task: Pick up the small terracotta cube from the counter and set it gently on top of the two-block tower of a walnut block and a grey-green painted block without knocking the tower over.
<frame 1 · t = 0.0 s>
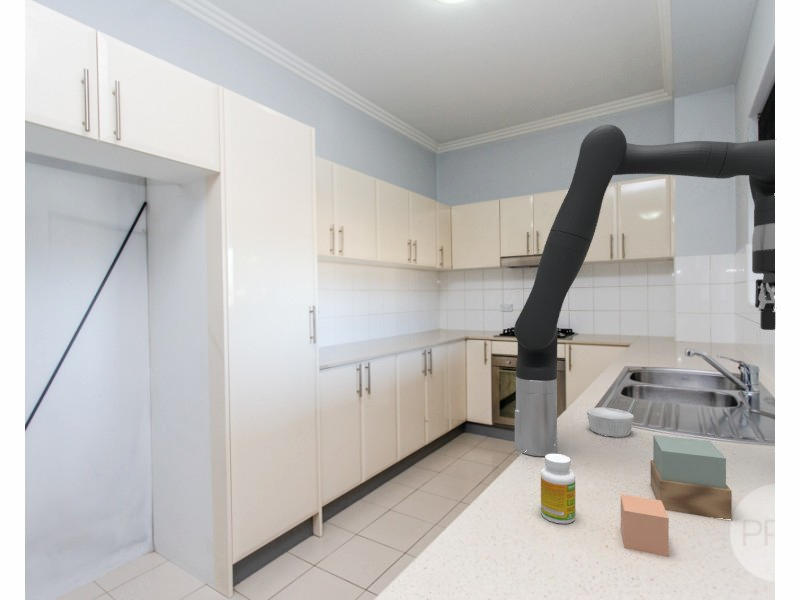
hand: (777, 331, 82), 29 cm above the worktop, tool pointing down, fingers open, 8 cm apart
ramekin: (609, 433, 113), on the worktop
terracotta cube: (643, 542, 63), on the worktop
tower base: (687, 502, 75), on the worktop, touching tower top
supplement bottle: (557, 517, 70), on the worktop
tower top: (686, 473, 75), point 5 cm above the worktop, touching tower base
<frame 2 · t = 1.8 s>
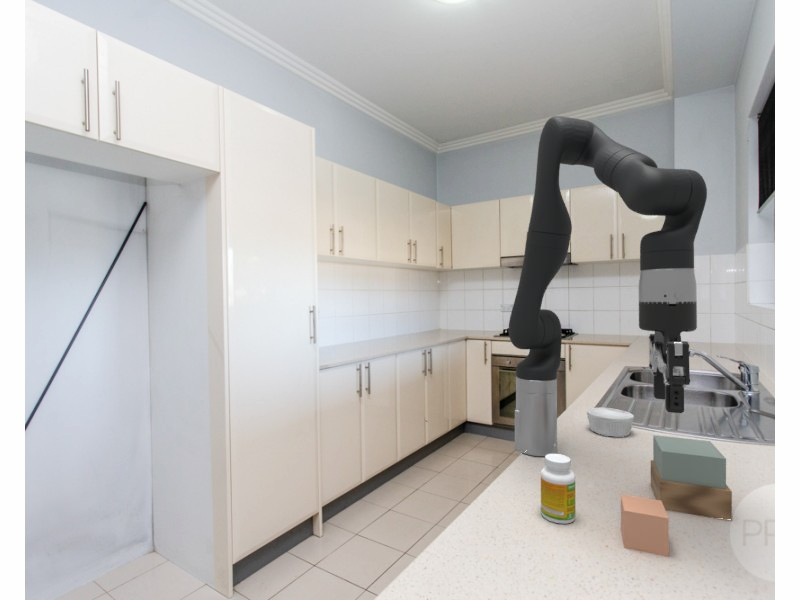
hand: (667, 405, 65), 20 cm above the worktop, tool pointing down, fingers open, 8 cm apart
nothing on the worktop moved.
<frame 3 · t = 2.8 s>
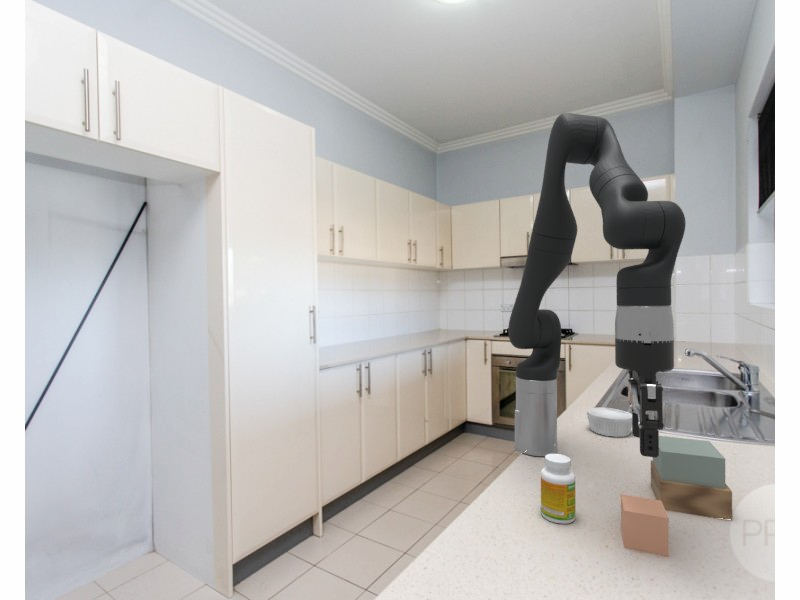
hand: (644, 445, 62), 14 cm above the worktop, tool pointing down, fingers open, 8 cm apart
nothing on the worktop moved.
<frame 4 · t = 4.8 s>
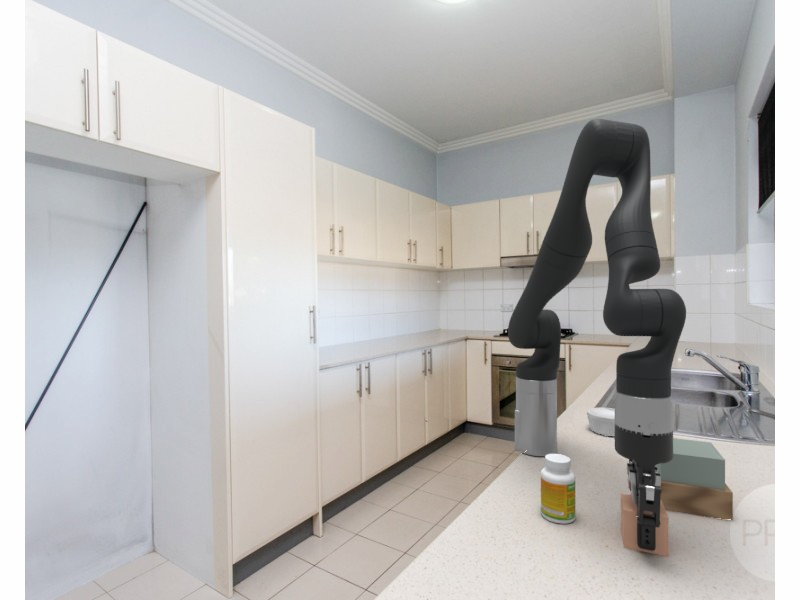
hand: (643, 536, 63), 1 cm above the worktop, tool pointing down, fingers closed on terracotta cube, 5 cm apart
terracotta cube: (643, 541, 63), on the worktop, touching gripper
everything else where it was.
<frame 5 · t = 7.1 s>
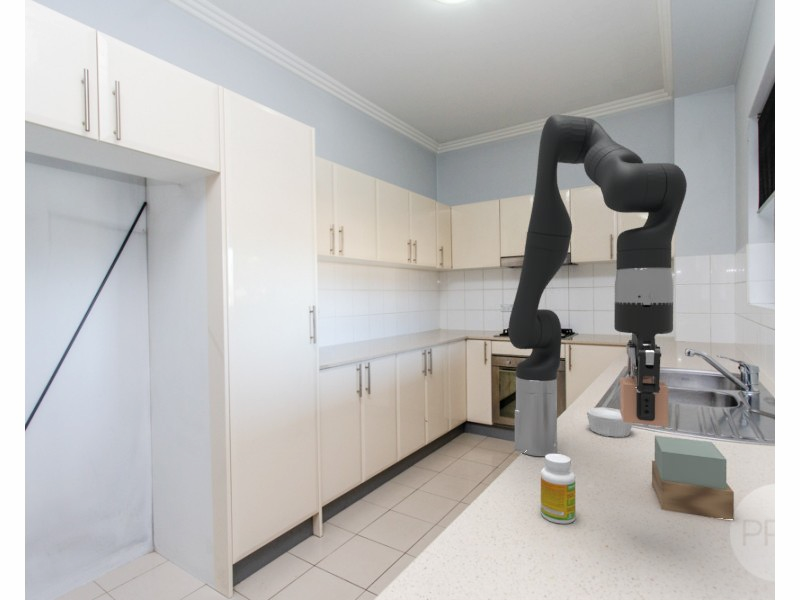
hand: (642, 413, 62), 19 cm above the worktop, tool pointing down, fingers closed on terracotta cube, 5 cm apart
terracotta cube: (642, 418, 62), point 18 cm above the worktop, touching gripper
everything else where it was.
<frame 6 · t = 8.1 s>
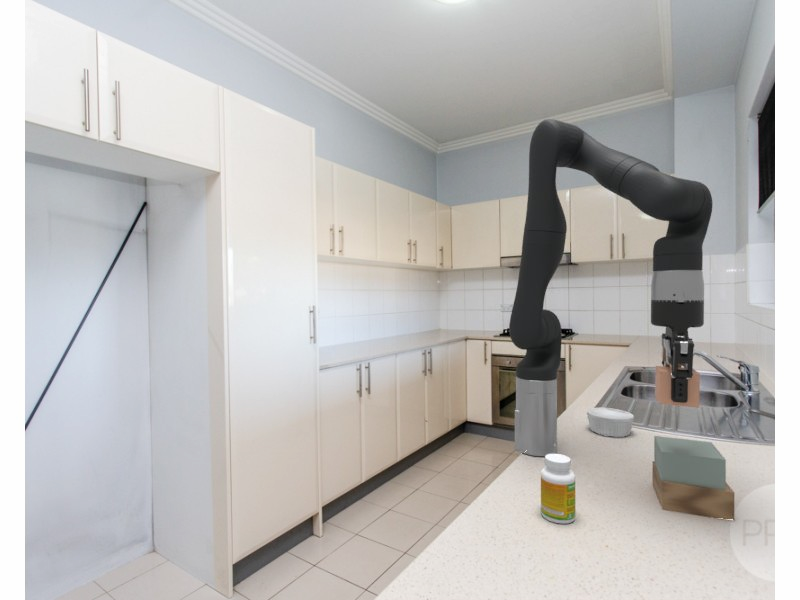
hand: (675, 397, 72), 19 cm above the worktop, tool pointing down, fingers closed on terracotta cube, 5 cm apart
terracotta cube: (676, 401, 72), point 18 cm above the worktop, touching gripper
everything else where it was.
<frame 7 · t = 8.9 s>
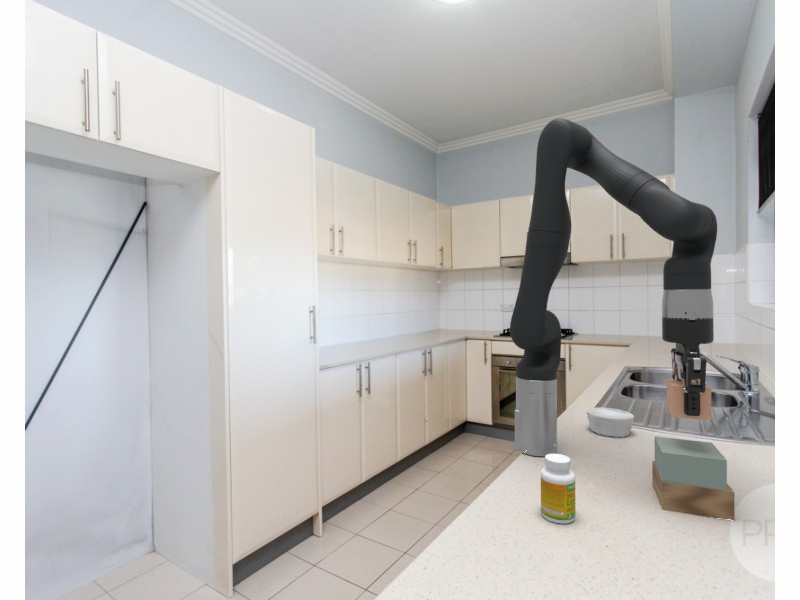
hand: (687, 410, 75), 16 cm above the worktop, tool pointing down, fingers closed on terracotta cube, 5 cm apart
terracotta cube: (688, 414, 75), point 15 cm above the worktop, touching gripper
everything else where it was.
when the fingers open (12 cm above the worktop, at t = 11.2 s): terracotta cube drops 1 cm, point 10 cm above the worktop.
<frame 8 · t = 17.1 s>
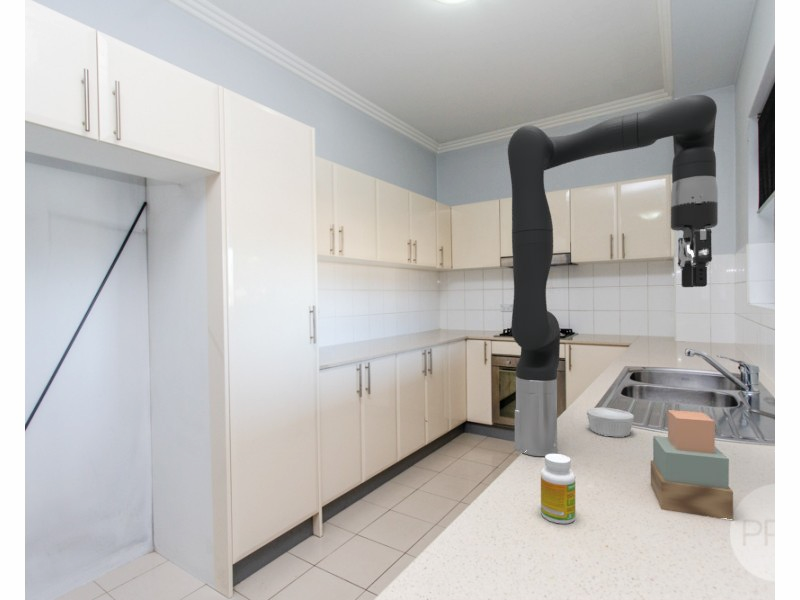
hand: (693, 286, 82), 38 cm above the worktop, tool pointing down, fingers open, 8 cm apart
terracotta cube: (690, 446, 75), point 10 cm above the worktop
at the end: terracotta cube 0.4 cm off-centre on the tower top, point 5.0 cm above the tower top's base; terracotta cube tilted 0°; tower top 0.1 cm off-centre on the tower base, point 5.0 cm above the tower base's base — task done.
